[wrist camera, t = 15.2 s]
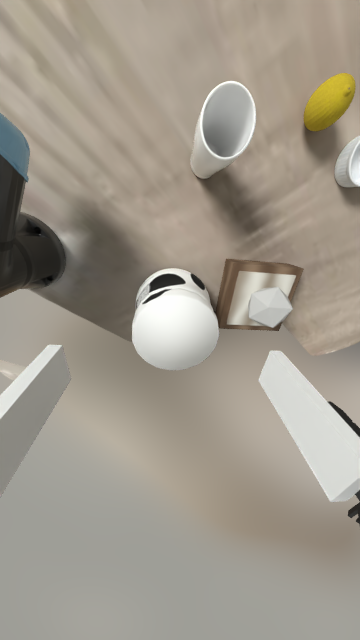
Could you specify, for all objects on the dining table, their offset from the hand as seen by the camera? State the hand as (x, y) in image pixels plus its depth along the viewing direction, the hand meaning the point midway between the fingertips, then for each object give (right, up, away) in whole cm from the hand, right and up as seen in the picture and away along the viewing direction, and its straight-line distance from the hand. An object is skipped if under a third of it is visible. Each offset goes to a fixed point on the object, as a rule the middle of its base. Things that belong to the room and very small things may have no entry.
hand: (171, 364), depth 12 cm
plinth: (+19, +10, +36) cm, 41 cm away
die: (+19, +8, +30) cm, 37 cm away
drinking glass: (+5, +33, +22) cm, 40 cm away
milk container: (-1, +8, +35) cm, 36 cm away
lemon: (+24, +39, +21) cm, 50 cm away
